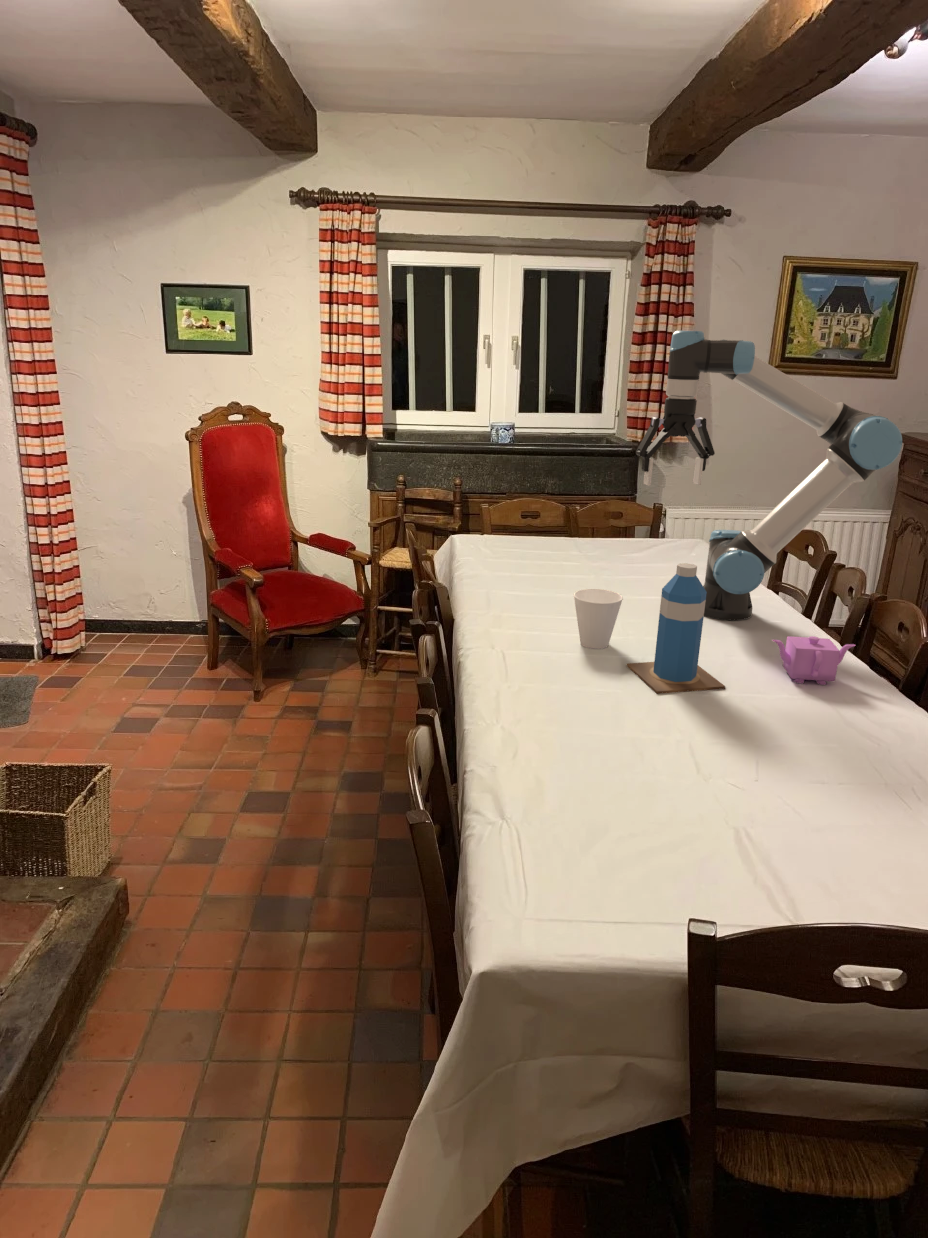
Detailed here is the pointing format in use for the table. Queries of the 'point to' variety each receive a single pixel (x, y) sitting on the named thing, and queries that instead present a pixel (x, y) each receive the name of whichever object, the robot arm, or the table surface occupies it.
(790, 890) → the table surface
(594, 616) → the cup
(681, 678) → the water bottle
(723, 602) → the robot arm
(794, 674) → the teapot
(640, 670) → the plate
